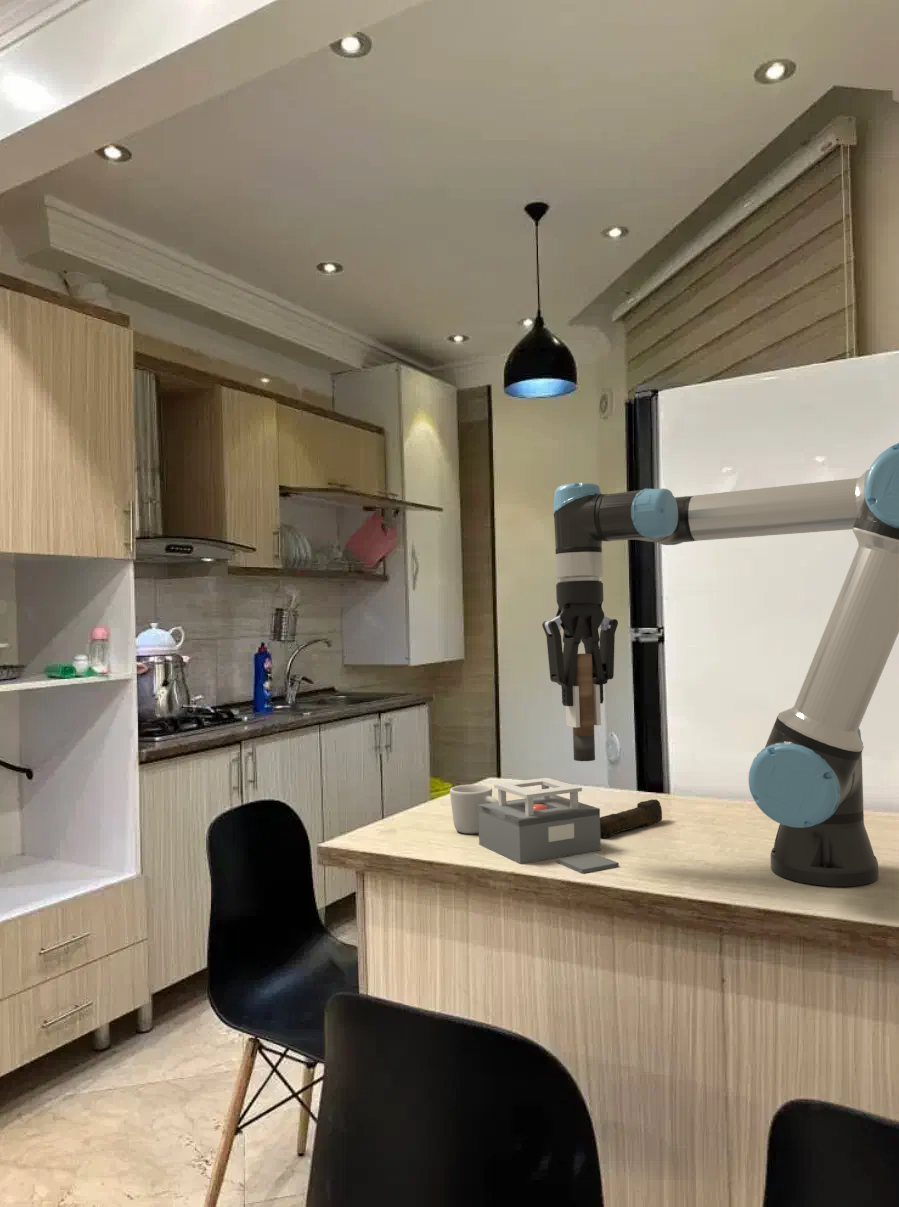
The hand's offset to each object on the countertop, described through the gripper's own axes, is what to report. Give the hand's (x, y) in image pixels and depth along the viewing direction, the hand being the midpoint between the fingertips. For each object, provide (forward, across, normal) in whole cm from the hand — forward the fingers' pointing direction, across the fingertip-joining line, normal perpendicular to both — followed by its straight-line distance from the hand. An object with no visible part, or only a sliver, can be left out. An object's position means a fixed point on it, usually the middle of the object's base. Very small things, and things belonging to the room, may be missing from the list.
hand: (583, 725), depth 141 cm
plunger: (+22, +1, -13) cm, 26 cm away
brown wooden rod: (+6, 0, 0) cm, 6 cm away
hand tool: (+23, -20, -15) cm, 34 cm away
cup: (+22, +5, -28) cm, 36 cm away
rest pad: (+22, 0, 0) cm, 22 cm away
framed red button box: (+22, +1, -13) cm, 26 cm away
